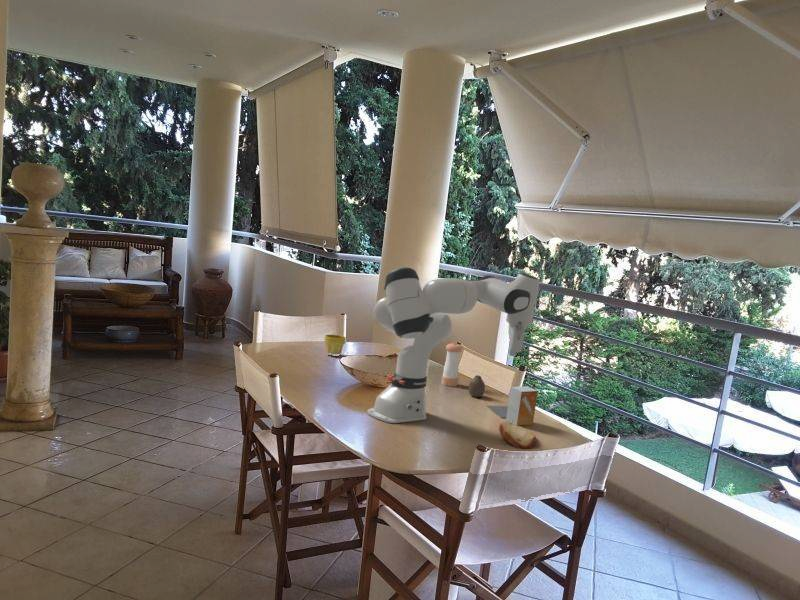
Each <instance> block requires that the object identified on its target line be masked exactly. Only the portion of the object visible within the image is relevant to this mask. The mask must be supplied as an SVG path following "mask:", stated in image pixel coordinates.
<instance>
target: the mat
mask: <svg viewBox="0 0 800 600" xmlns="http://www.w3.org/2000/svg"><path fill="white" fill-rule="evenodd" d="M486 407H487V408H488V409H489V408H490V409H489V410H491V411H492V412H493V413H495V414H496V415H497V416H500V417H499V418H501V419H506V417H507V410H508V405H486Z"/></svg>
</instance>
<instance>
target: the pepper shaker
mask: <svg viewBox="0 0 800 600" xmlns="http://www.w3.org/2000/svg"><path fill="white" fill-rule="evenodd" d="M445 350H446V357H445V362H444V365H443V374H442V376H441V385H442V386H446V385H447V386H448V387H457V386H458V384H459V371H460V370H459V369H460V367H459V359H460V353H461V352H462V350H463V349H462V346H461V345H460V344H458V343H457V342H455V341H454V342H452V343H448V344H447V345H446V346H445Z"/></svg>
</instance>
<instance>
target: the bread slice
mask: <svg viewBox="0 0 800 600" xmlns="http://www.w3.org/2000/svg"><path fill="white" fill-rule="evenodd" d="M498 431H499V432H500V435H501V437H502V438H503V440H504V441H506V442H507V443H508V444H510V445H511V446H513V447H514V448H516V449H517V448H518V449H520V450H531V449H532V448H534V447H536V446H537V437H536V434H534V433H533V432H532V431H531V430H528V428H527V429H526V428H525V427H523V426H521V425H515V424H512V423H510V422H508V421H507V422H506V421H501V422H500V424H499V426H498Z"/></svg>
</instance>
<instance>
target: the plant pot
mask: <svg viewBox="0 0 800 600" xmlns="http://www.w3.org/2000/svg"><path fill="white" fill-rule="evenodd" d="M346 339H347V337H346V336H344V335H340V334H334V333H333V334H325V335H324V344H325V350H326V354H327V353H331V354H340V353H341V354H342V351H343V349H344V345H345V344H346ZM341 354H340V355H341Z"/></svg>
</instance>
